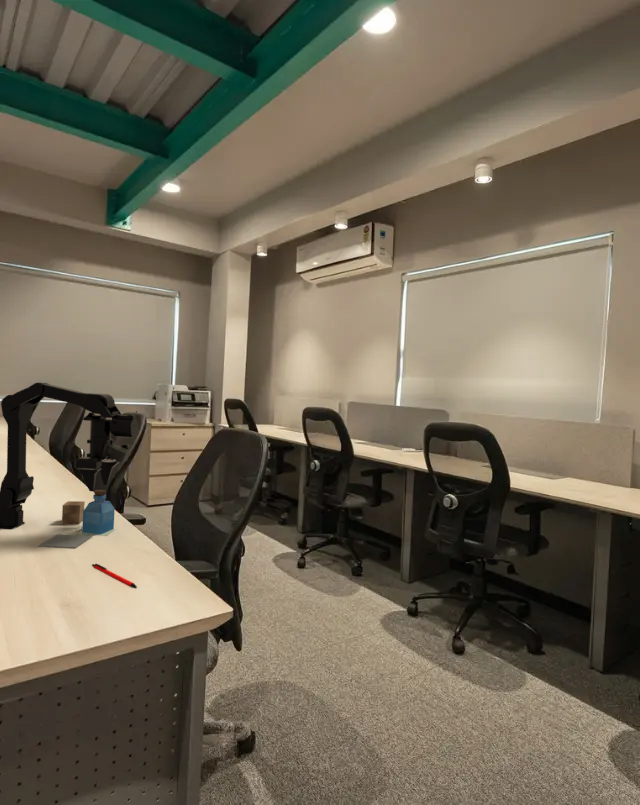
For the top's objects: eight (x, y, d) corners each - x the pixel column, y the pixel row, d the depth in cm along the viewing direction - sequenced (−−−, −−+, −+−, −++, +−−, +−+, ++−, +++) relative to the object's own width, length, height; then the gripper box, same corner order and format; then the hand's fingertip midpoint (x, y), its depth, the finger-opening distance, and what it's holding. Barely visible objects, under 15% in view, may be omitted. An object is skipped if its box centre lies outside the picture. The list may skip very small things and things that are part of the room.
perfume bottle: (100, 534, 144) (102, 494, 143) (82, 532, 145) (83, 492, 144) (113, 528, 150) (115, 490, 149) (95, 526, 151) (97, 488, 151)
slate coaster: (38, 546, 131) (38, 545, 131) (57, 535, 141) (57, 534, 141) (75, 548, 131) (75, 547, 131) (92, 537, 141) (92, 535, 141)
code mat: (75, 534, 143) (75, 534, 143) (90, 526, 152) (90, 525, 152) (106, 536, 143) (106, 535, 143) (119, 527, 152) (119, 527, 152)
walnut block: (61, 524, 151) (62, 505, 151) (67, 519, 156) (67, 501, 156) (79, 524, 152) (80, 505, 152) (83, 519, 157) (84, 501, 157)
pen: (94, 566, 121) (94, 561, 121) (138, 588, 109) (138, 583, 109) (91, 567, 120) (91, 562, 120) (135, 589, 109) (135, 584, 109)
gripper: (114, 440, 137) (112, 496, 137) (139, 434, 155) (137, 483, 156) (74, 438, 137) (72, 494, 137) (104, 432, 155) (102, 481, 156)
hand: (98, 487), depth 146 cm, fingers open, 9 cm apart
